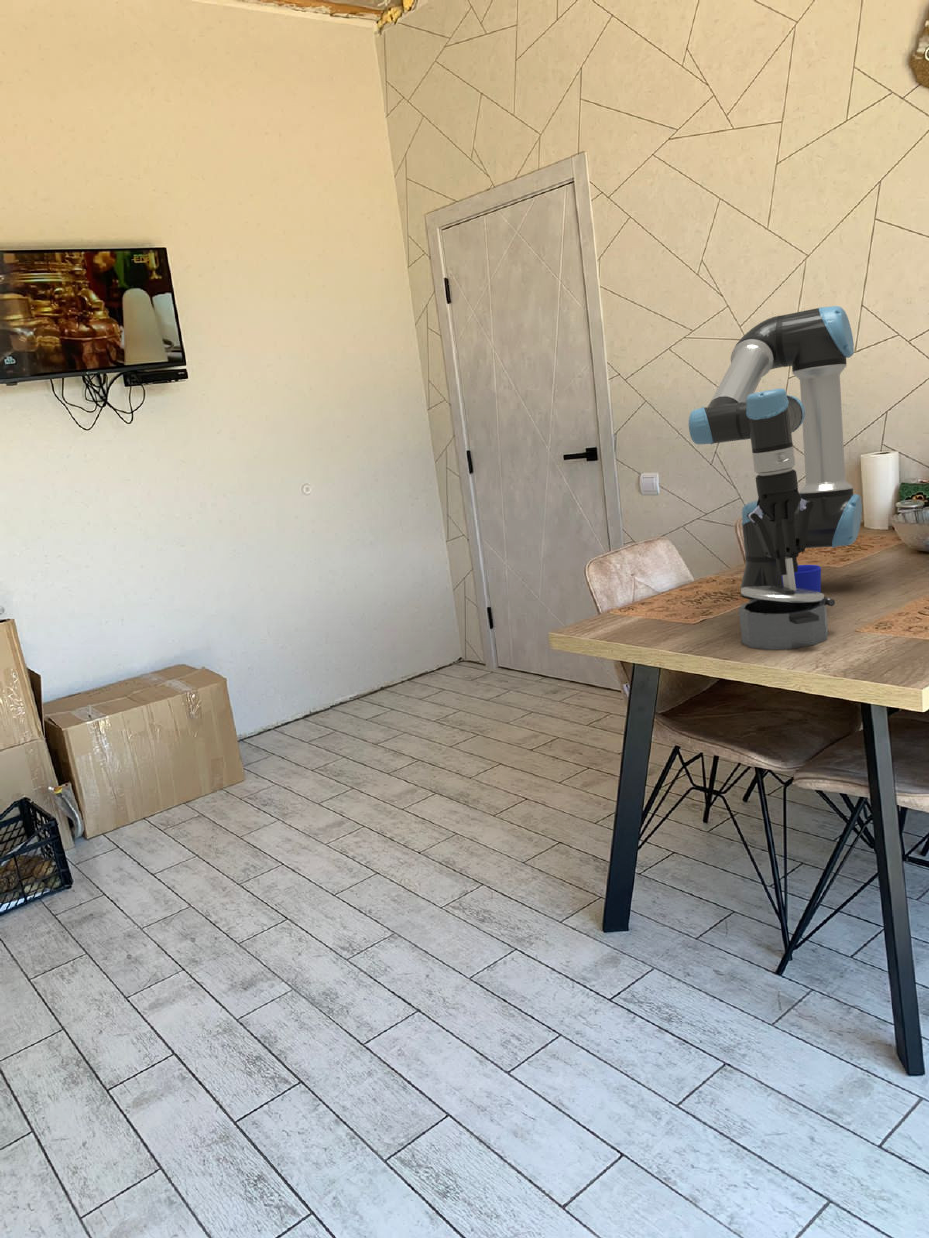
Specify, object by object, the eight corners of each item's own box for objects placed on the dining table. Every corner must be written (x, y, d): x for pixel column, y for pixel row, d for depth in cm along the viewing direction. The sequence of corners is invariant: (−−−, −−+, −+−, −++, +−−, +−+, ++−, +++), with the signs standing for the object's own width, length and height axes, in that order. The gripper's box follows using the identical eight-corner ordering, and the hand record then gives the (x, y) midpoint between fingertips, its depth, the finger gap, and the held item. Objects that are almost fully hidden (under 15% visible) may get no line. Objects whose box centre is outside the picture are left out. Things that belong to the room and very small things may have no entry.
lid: (729, 589, 192) (729, 581, 192) (801, 590, 193) (802, 582, 193) (759, 601, 177) (760, 593, 176) (838, 603, 178) (839, 594, 178)
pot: (725, 634, 197) (722, 601, 196) (805, 620, 198) (803, 588, 197) (769, 657, 175) (766, 621, 174) (859, 642, 177) (856, 606, 175)
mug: (823, 603, 210) (820, 560, 208) (824, 616, 199) (821, 570, 197) (784, 606, 213) (781, 563, 211) (784, 619, 202) (780, 573, 200)
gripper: (751, 479, 176) (767, 599, 181) (815, 465, 177) (829, 586, 182) (736, 477, 183) (751, 593, 188) (797, 464, 184) (811, 580, 189)
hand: (790, 589), depth 185 cm, fingers closed
